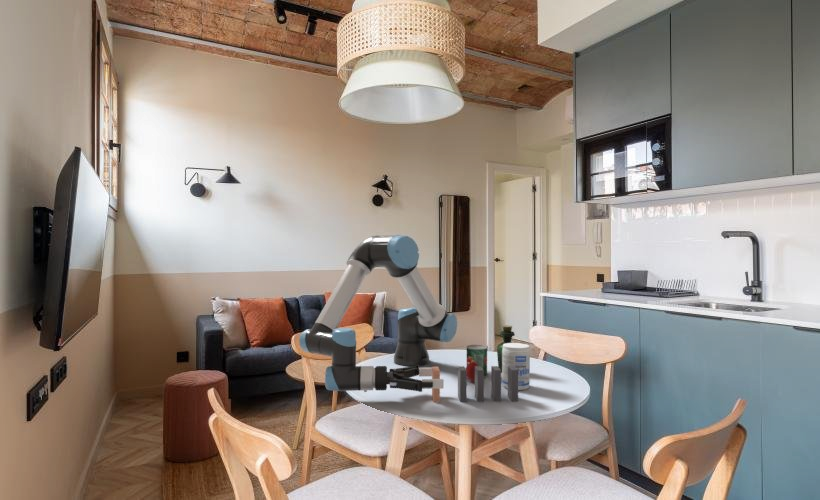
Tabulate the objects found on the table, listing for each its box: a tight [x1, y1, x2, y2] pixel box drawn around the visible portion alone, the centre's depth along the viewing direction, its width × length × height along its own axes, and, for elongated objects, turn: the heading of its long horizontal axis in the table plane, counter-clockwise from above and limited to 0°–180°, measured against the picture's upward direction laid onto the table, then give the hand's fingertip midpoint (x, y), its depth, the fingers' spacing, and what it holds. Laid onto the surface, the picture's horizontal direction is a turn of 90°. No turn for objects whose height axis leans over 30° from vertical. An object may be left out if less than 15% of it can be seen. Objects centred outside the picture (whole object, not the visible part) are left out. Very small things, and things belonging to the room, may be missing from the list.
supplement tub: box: [501, 342, 531, 391], centre depth 164 cm, size 10×10×15 cm
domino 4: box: [507, 366, 519, 402], centre depth 151 cm, size 2×5×10 cm, turn 3°
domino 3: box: [490, 365, 502, 403], centre depth 151 cm, size 2×5×10 cm, turn 3°
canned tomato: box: [466, 344, 488, 379], centre depth 179 cm, size 8×8×11 cm
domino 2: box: [474, 366, 485, 403], centre depth 150 cm, size 2×5×10 cm, turn 3°
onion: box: [465, 360, 478, 383], centre depth 170 cm, size 6×6×8 cm
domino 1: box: [457, 365, 468, 403], centre depth 150 cm, size 2×5×10 cm, turn 3°
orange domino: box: [431, 366, 441, 403], centre depth 150 cm, size 2×5×10 cm, turn 3°
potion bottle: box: [496, 325, 515, 374], centre depth 184 cm, size 8×8×18 cm
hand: (440, 377), depth 150 cm, fingers open, 13 cm apart
